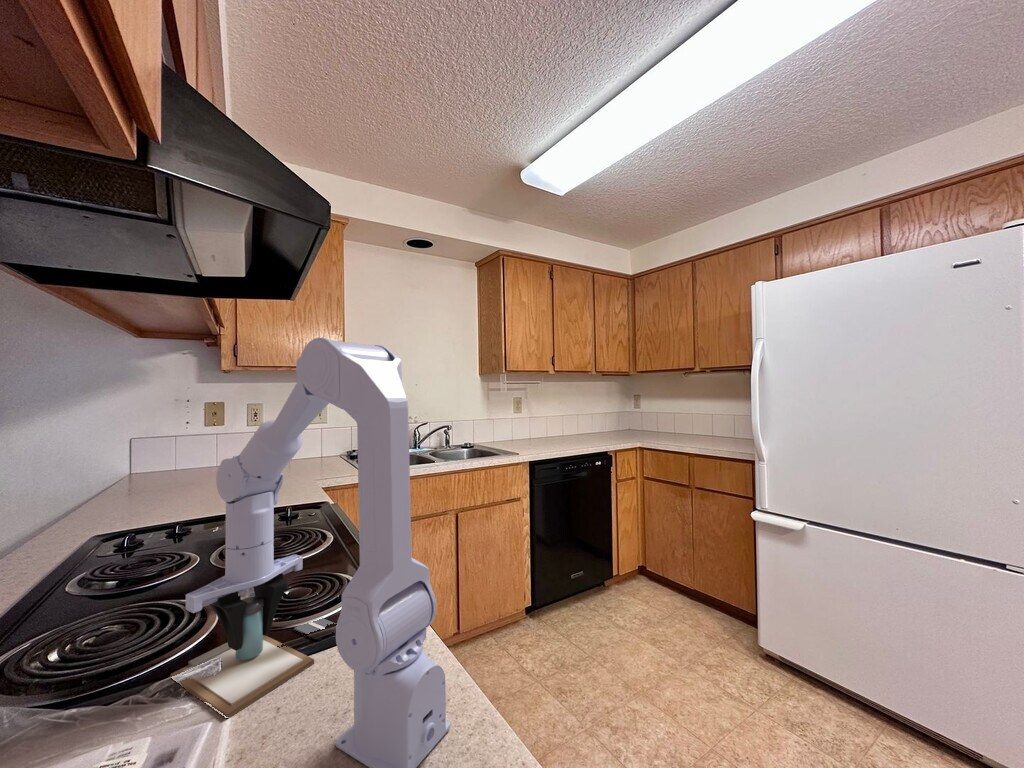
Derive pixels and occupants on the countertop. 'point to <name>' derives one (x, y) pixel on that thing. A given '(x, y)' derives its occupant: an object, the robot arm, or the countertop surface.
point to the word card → (313, 626)
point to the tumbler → (252, 628)
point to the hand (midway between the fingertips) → (249, 639)
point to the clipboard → (244, 675)
